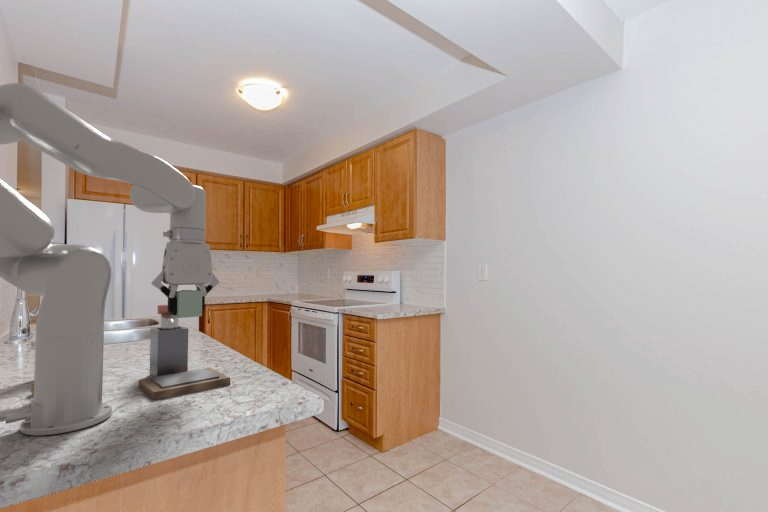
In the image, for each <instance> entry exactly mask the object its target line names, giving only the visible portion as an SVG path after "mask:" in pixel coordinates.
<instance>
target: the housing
mask: <svg viewBox="0 0 768 512" xmlns="http://www.w3.org/2000/svg"><path fill="white" fill-rule="evenodd" d="M175 295H176V298H177V315H171V316H173V317H177V318H178V319H181V318H182V319H184V318H185V319H186V318H197V317H202V316H203V313H202V291H200V290H197V289H180V290H179V289H177V291H176V294H175Z"/></svg>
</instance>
